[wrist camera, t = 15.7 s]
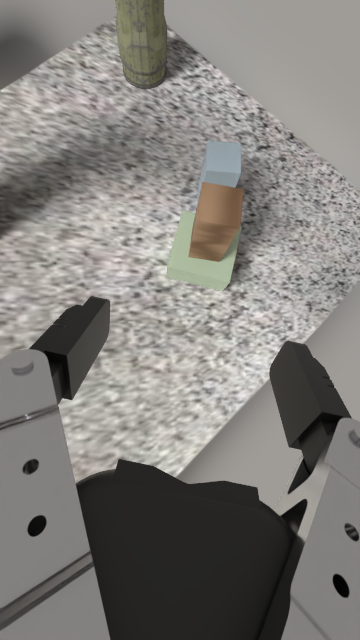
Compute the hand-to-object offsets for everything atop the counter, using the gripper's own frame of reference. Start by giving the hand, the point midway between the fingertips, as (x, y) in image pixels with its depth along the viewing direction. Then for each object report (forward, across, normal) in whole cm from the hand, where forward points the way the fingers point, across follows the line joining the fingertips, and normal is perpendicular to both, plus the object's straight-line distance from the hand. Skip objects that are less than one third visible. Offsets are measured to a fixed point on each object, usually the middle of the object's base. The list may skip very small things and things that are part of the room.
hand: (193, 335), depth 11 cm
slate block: (+40, -1, 0) cm, 40 cm away
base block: (+33, -1, +8) cm, 34 cm away
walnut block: (+29, -1, +4) cm, 30 cm away
